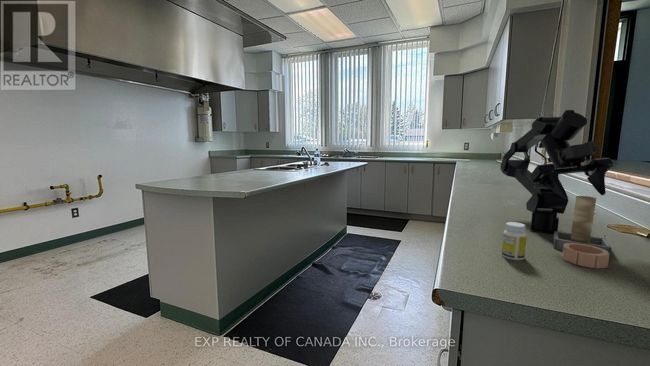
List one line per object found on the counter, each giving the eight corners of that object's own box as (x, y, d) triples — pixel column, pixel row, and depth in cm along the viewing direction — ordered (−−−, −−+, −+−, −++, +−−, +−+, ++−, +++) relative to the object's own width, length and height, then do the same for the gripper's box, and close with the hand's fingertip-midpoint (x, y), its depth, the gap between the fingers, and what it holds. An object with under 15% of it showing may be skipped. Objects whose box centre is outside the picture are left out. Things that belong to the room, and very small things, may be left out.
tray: (554, 248, 79) (555, 239, 79) (553, 239, 86) (554, 230, 86) (610, 257, 73) (611, 247, 72) (604, 247, 80) (605, 238, 80)
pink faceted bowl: (563, 262, 70) (564, 250, 70) (561, 252, 76) (563, 241, 76) (609, 271, 65) (611, 258, 65) (603, 259, 72) (605, 247, 71)
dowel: (573, 246, 78) (579, 198, 76) (567, 241, 82) (573, 195, 80) (592, 248, 77) (599, 199, 75) (585, 243, 81) (592, 196, 79)
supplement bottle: (521, 254, 75) (524, 222, 74) (527, 261, 70) (530, 227, 69) (499, 252, 76) (502, 220, 75) (504, 259, 72) (507, 225, 71)
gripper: (536, 136, 82) (561, 184, 74) (611, 128, 80) (646, 176, 71) (521, 160, 91) (542, 204, 83) (587, 153, 89) (616, 198, 81)
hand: (584, 196), depth 79 cm, fingers open, 9 cm apart
